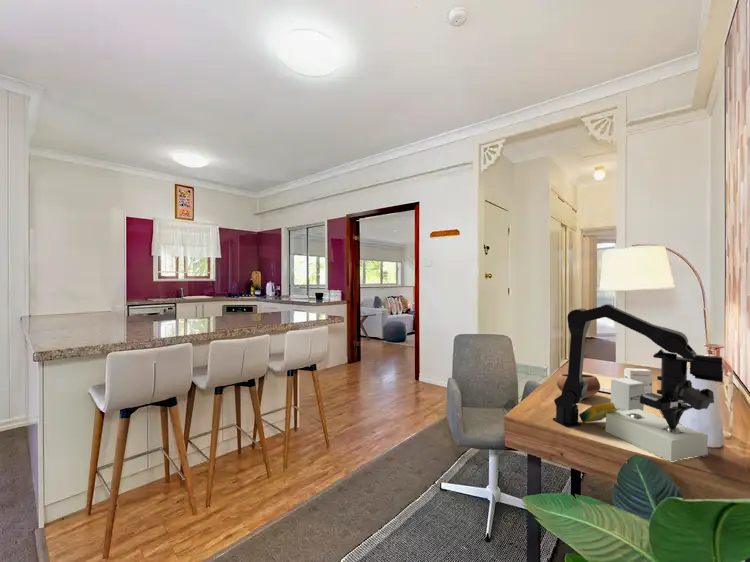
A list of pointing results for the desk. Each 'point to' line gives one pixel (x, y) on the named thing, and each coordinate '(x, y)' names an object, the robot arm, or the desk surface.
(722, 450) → the desk surface
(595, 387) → the bowl
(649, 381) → the ink box
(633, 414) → the peg near arm
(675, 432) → the peg far side
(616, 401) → the supplement box
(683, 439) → the block
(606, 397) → the desk surface
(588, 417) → the crayon box
